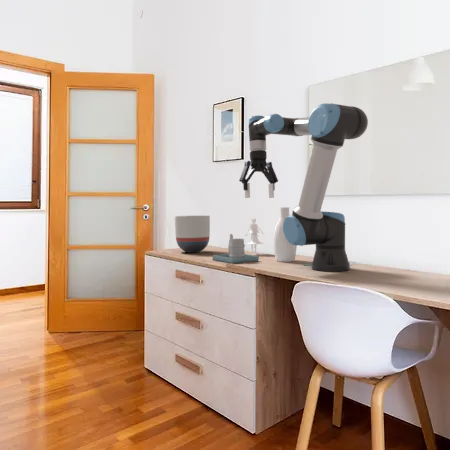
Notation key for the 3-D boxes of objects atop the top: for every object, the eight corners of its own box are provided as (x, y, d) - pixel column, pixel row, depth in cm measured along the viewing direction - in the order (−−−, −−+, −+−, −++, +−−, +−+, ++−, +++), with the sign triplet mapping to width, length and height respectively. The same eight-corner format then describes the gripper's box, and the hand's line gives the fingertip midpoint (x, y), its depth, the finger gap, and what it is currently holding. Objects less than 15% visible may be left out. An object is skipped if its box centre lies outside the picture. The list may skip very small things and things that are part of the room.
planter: (214, 250, 257) (213, 215, 256) (204, 254, 237) (204, 216, 236) (182, 250, 262) (181, 215, 261) (170, 254, 242) (169, 216, 241)
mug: (234, 260, 198) (234, 235, 198) (222, 258, 209) (222, 234, 208) (248, 259, 202) (248, 234, 202) (236, 257, 212) (235, 233, 212)
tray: (258, 261, 202) (258, 256, 202) (232, 263, 194) (232, 258, 194) (237, 257, 217) (237, 253, 217) (212, 260, 209) (212, 255, 209)
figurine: (251, 256, 223) (251, 218, 222) (240, 254, 230) (239, 218, 230) (270, 254, 230) (269, 217, 229) (259, 253, 238) (258, 217, 237)
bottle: (301, 261, 197) (300, 207, 196) (278, 262, 195) (277, 207, 193) (291, 258, 208) (290, 207, 207) (270, 260, 205) (269, 207, 204)
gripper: (274, 153, 202) (275, 198, 202) (230, 150, 188) (232, 198, 188) (284, 151, 195) (286, 197, 196) (240, 147, 182) (241, 197, 182)
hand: (259, 197), depth 192 cm, fingers open, 13 cm apart
